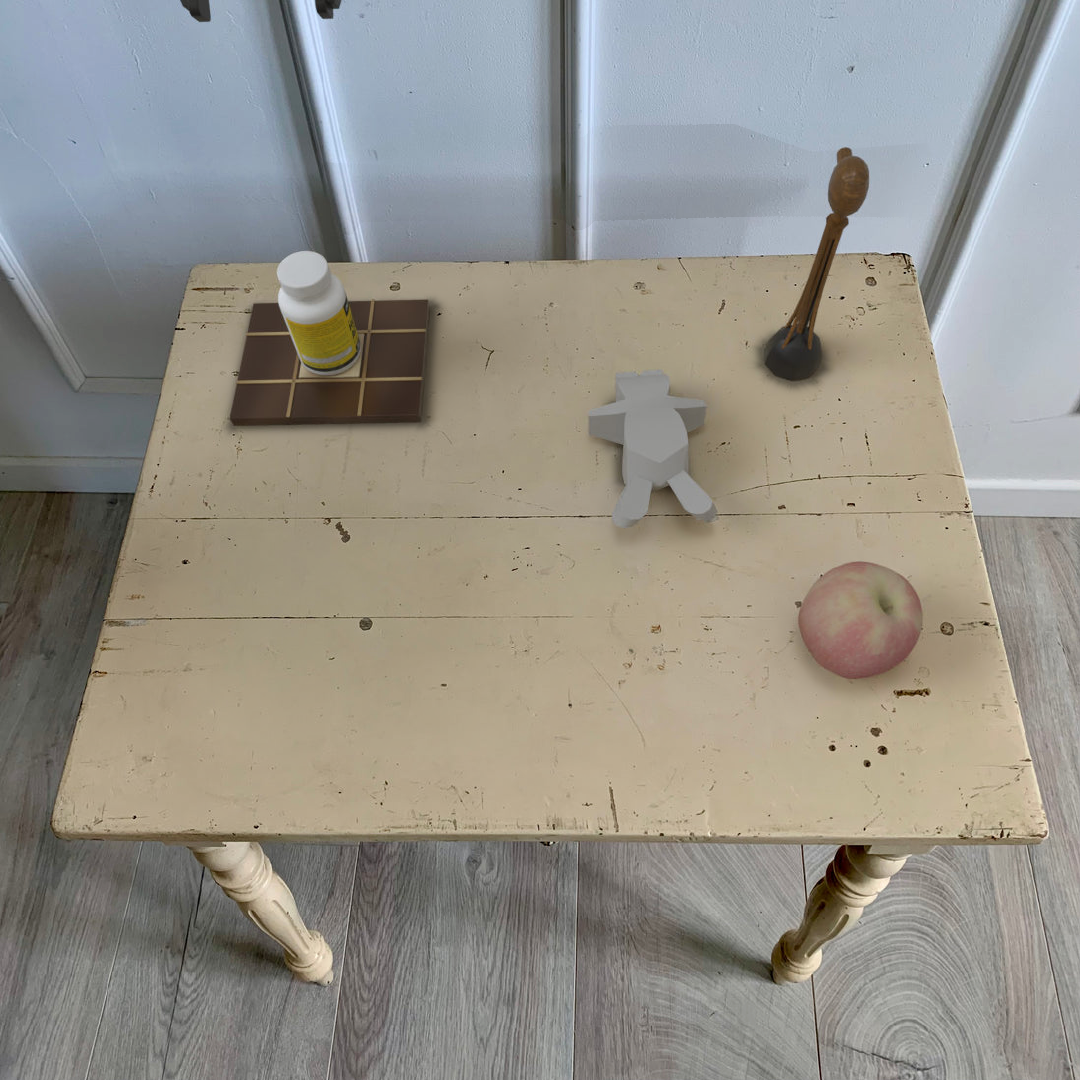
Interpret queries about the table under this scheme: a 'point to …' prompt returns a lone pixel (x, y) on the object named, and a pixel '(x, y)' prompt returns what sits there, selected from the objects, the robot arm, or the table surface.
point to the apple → (860, 620)
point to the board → (348, 397)
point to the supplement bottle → (317, 314)
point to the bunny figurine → (651, 444)
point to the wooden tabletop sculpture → (818, 275)
